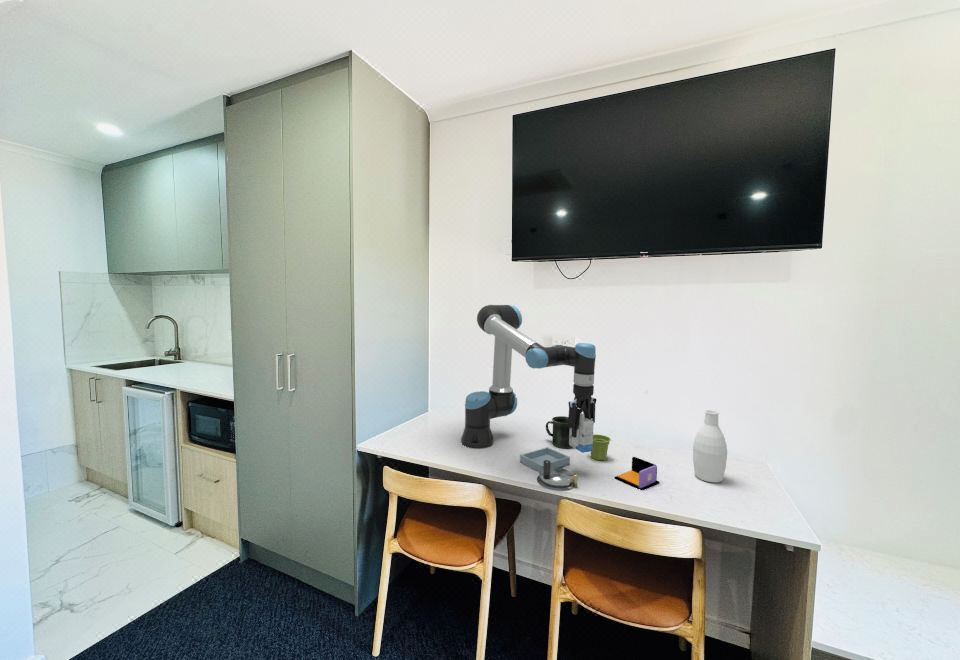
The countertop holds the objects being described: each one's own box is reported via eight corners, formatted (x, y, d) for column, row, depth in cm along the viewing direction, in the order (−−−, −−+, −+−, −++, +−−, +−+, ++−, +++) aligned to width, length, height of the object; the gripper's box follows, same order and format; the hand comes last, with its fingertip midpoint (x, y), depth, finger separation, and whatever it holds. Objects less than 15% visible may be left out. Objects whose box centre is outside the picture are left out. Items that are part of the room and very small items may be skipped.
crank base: (529, 480, 137) (529, 467, 137) (555, 471, 145) (555, 458, 145) (557, 497, 125) (558, 482, 125) (584, 486, 133) (585, 472, 133)
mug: (571, 451, 165) (572, 425, 165) (541, 444, 173) (541, 419, 172) (579, 444, 174) (579, 418, 174) (550, 437, 182) (550, 413, 182)
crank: (555, 469, 144) (556, 449, 143) (580, 481, 134) (581, 460, 133) (532, 477, 137) (532, 456, 136) (556, 491, 127) (557, 468, 126)
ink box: (592, 451, 140) (595, 413, 139) (582, 453, 138) (584, 414, 137) (578, 443, 148) (580, 406, 147) (568, 444, 146) (570, 408, 145)
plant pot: (583, 457, 158) (583, 438, 158) (593, 451, 165) (593, 432, 165) (604, 464, 152) (604, 443, 151) (613, 457, 159) (614, 437, 158)
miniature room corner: (661, 483, 137) (661, 465, 136) (641, 492, 130) (642, 473, 129) (631, 471, 147) (632, 454, 146) (612, 479, 140) (613, 461, 139)
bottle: (685, 470, 147) (688, 407, 146) (714, 471, 147) (717, 408, 145) (701, 484, 136) (705, 415, 134) (732, 484, 136) (736, 416, 134)
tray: (520, 463, 152) (520, 454, 152) (547, 454, 161) (547, 447, 161) (541, 474, 142) (541, 466, 142) (569, 465, 151) (569, 456, 151)
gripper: (574, 389, 132) (571, 452, 134) (607, 383, 143) (603, 441, 145) (559, 384, 139) (556, 445, 141) (591, 379, 149) (588, 435, 151)
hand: (580, 443), depth 143 cm, fingers closed on ink box, 5 cm apart
